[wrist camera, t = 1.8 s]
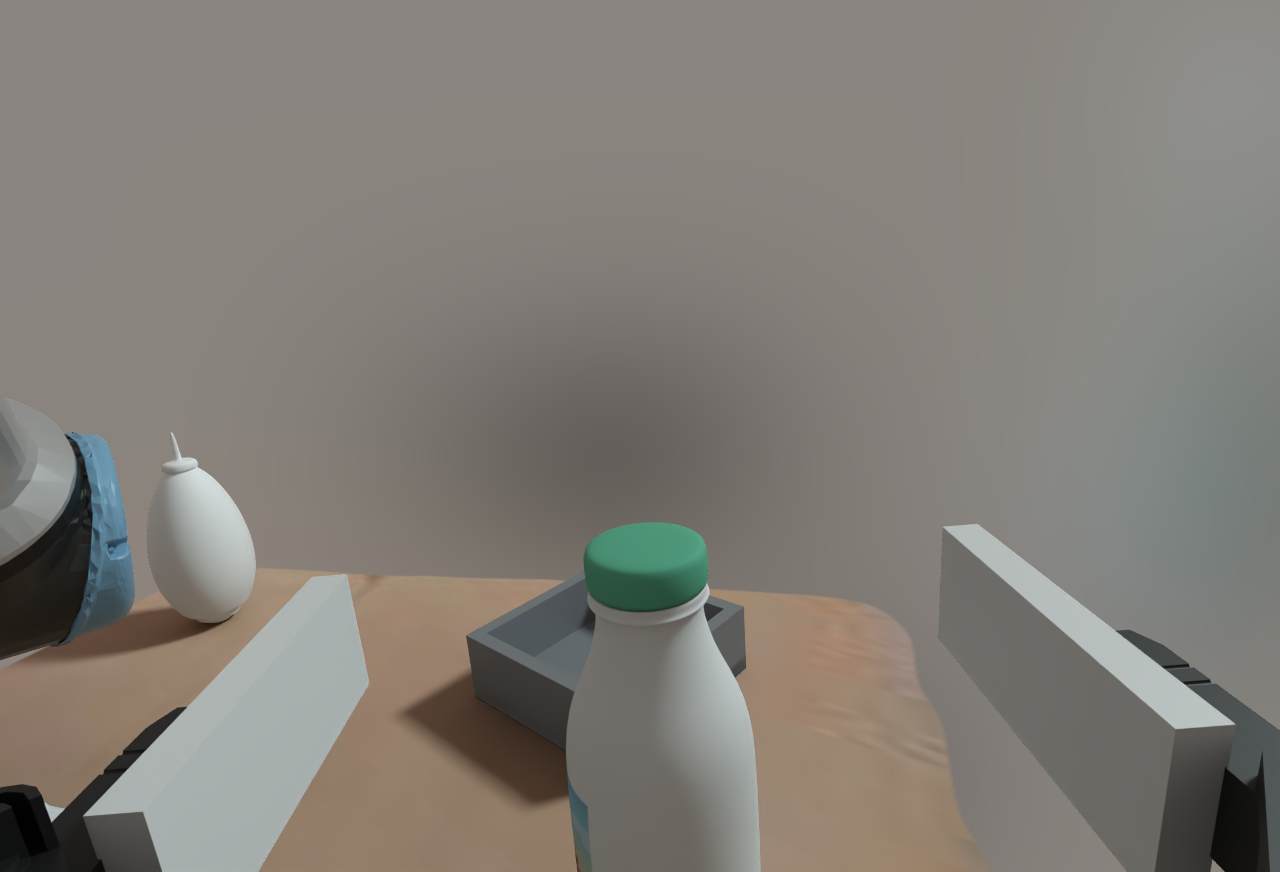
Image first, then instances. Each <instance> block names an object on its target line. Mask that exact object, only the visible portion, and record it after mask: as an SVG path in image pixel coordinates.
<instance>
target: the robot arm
mask: <svg viewBox="0 0 1280 872" xmlns="http://www.w3.org/2000/svg"><path fill="white" fill-rule="evenodd" d="M127 540H128V535H127V528H126V519H125V513H124V508H123V502H122V497H121V493H120V488H119V483H118V478H117V474H116V470H115V466H114V462H113V458H112V454H111V451H110V448H109V446H108V444H107V443H106V441H105V440H104V439H103V438H101V437H99V436H98V435H95V434H81V435H79V434H77V433H73V432H72V433H67V434H63V432H62V431H61V429H60V428H59V427H58V426H57V425H56V424H55V423H54V422H53V421H52V420H51V419H49V418H48V417H47V416H45V415H44V414H42V413H41V412H39V411H37V410H35V409H33V408H31V407H29V406H27V405H25V404H23V403H20V402H18V401H15V400H12V399H9V398H6V397H5V395H4V394H3V391H2V389H1V387H0V660H2V659H6V658H9V657H12V656H16V655H19V654H22V653H26V652H29V651H32V650H36V649H39V648H42V647H46V646H49V645H50V646H61V645H65V644H68V643H70V642H71V641H72V640H73V639H74V638H76V637H78V636H81V635H84V634H87V633H90V632H93V631H95V630H98V629H101V628H104V627H107V626H110V625H112V624H115V623H116V622H118V621H119V620H121V619H122V618H123V617H124V616H126V614H127V613H128V612H129V611H130V609H131V607H132V605H133V602H134V597H135V596H134V595H135V585H134V573H133V565H132V558H131V552H130V548H129V544H128V543H127ZM939 608H940V609H939V631H938V638H939V640H940V641H941V642H942V643H943V645H944V646H945V647H946V648H947V650H948V651H949V652H950V653H951V654H952V656H953V657H954V658H955V659H956V660H957V662H958V663H959V664H960V666H961V667H962V668H963V669H964V671H965V672H966V673H967V674H968V675H969V677H970V678H971V679H972V680H973V682H974V683H975V684H976V685H977V687H978V688H979V689H980V690H981V691H982V693H983V694H984V695H985V697H986V698H987V699H988V700H989V702H990V703H991V704H992V705H993V706H994V708H995V709H996V710H997V711H998V712H999V714H1000V715H1001V716H1002V717H1003V719H1004V720H1005V721H1006V722H1007V723H1008V725H1009V726H1010V727H1011V729H1012V730H1013V731H1014V732H1015V734H1016V735H1017V736H1018V737H1019V739H1020V740H1021V741H1022V742H1023V744H1024V745H1025V746H1026V747H1027V748H1028V750H1029V751H1030V752H1031V753H1032V755H1033V756H1034V757H1035V758H1036V760H1037V761H1038V762H1039V763H1040V765H1041V766H1042V767H1043V768H1044V770H1045V771H1046V772H1047V773H1048V774H1049V776H1050V777H1051V778H1052V779H1053V781H1054V782H1055V783H1056V784H1057V785H1058V787H1059V788H1060V789H1061V790H1062V792H1063V793H1064V794H1065V795H1066V797H1067V798H1068V799H1069V800H1070V802H1071V803H1072V804H1073V805H1074V807H1075V808H1076V809H1077V810H1078V811H1079V813H1080V814H1081V815H1082V817H1083V818H1084V819H1085V820H1086V821H1087V823H1088V824H1089V825H1090V826H1091V828H1092V829H1093V830H1094V831H1095V832H1096V834H1097V835H1098V836H1099V838H1100V839H1101V840H1102V841H1103V842H1104V844H1105V845H1106V846H1107V847H1108V849H1109V850H1110V851H1111V852H1112V854H1113V855H1114V856H1115V857H1116V858H1117V860H1118V861H1119V862H1120V863H1121V865H1122V866H1123V867H1124V868H1125V869H1126V871H1127V872H1210V870H1211V864H1212V859H1213V860H1214V861H1215V862H1216V863H1217V864H1218V865H1219V866H1220V867H1221V868H1222V869H1223V870H1224V871H1225V872H1280V730H1278V729H1277V728H1276V727H1274V726H1273V725H1272V724H1270V723H1269V722H1267V721H1266V720H1265V719H1263V718H1262V717H1261V716H1259V715H1258V714H1257V713H1255V712H1254V711H1252V710H1251V709H1250V708H1248V707H1247V706H1246V705H1244V704H1243V703H1242V702H1240V701H1239V700H1237V699H1236V698H1235V697H1233V696H1232V695H1230V694H1229V693H1228V692H1227V691H1225V690H1224V689H1222V688H1221V687H1220V686H1218V685H1217V684H1212V683H1211V682H1210V679H1209V678H1207V677H1206V676H1204V675H1203V674H1202V673H1201V672H1199V671H1198V670H1197V669H1195V668H1190V667H1189V664H1188V663H1187V662H1186V661H1184V660H1183V659H1181V658H1180V657H1179V656H1177V655H1176V654H1175V653H1173V652H1172V651H1171V650H1169V649H1168V648H1166V647H1165V646H1164V645H1162V644H1159V643H1157V642H1155V641H1153V640H1151V639H1149V638H1146V637H1144V636H1142V635H1140V634H1137V633H1135V632H1133V631H1131V630H1121V631H1115V630H1113V629H1112V628H1111V627H1110V626H1108V625H1107V624H1106V623H1104V622H1103V621H1102V620H1101V619H1099V618H1098V617H1097V616H1095V615H1094V614H1093V613H1091V612H1090V611H1089V610H1087V609H1086V608H1085V607H1084V606H1082V605H1081V604H1080V603H1079V602H1077V601H1076V600H1075V599H1073V598H1072V597H1071V596H1069V595H1068V594H1067V593H1066V592H1064V591H1063V590H1062V589H1060V588H1059V587H1058V586H1057V585H1055V584H1054V583H1053V582H1052V581H1050V580H1049V579H1047V578H1046V577H1045V576H1044V575H1043V574H1041V573H1040V572H1039V571H1037V570H1036V569H1034V568H1033V567H1032V566H1031V565H1030V564H1028V563H1027V562H1026V561H1024V560H1023V559H1022V558H1020V557H1019V556H1018V555H1017V554H1015V553H1014V552H1013V551H1012V550H1010V549H1009V548H1008V547H1006V546H1005V545H1004V544H1002V543H1001V542H1000V541H999V540H997V539H996V538H995V537H994V536H992V535H991V534H990V533H988V532H987V531H986V530H984V529H983V528H982V527H981V526H979V525H978V524H972V525H960V526H947V527H943V533H942V557H941V581H940V606H939ZM368 685H369V680H368V675H367V670H366V665H365V660H364V655H363V650H362V646H361V641H360V636H359V631H358V626H357V621H356V616H355V611H354V607H353V602H352V597H351V592H350V587H349V582H348V577H347V574H343V575H331V576H318V577H312V578H311V579H310V580H309V581H308V582H307V583H306V584H305V585H304V586H303V587H302V588H301V589H300V590H299V591H298V592H297V593H296V594H295V595H294V596H293V597H292V598H291V600H290V601H289V602H288V603H287V604H286V605H285V606H284V607H283V608H282V609H281V610H280V611H279V612H278V613H277V614H276V615H275V616H274V617H273V618H272V619H271V620H270V621H269V622H268V624H267V625H266V626H265V627H264V628H263V629H262V630H261V631H260V632H259V633H258V634H257V635H256V636H255V637H254V638H253V639H252V640H251V641H250V642H249V643H248V644H247V645H246V646H245V648H244V649H243V650H242V651H241V652H240V653H239V654H238V655H237V656H236V657H235V658H234V659H233V660H232V661H231V662H230V663H229V664H228V665H227V666H226V667H225V668H224V669H223V670H222V672H221V673H220V674H219V675H218V676H217V677H216V678H215V679H214V680H213V681H212V682H211V683H210V684H209V685H208V686H207V687H206V688H205V689H204V690H203V691H202V692H201V693H200V694H199V696H198V697H197V698H196V699H195V700H194V701H193V702H192V703H191V704H190V705H189V706H188V707H180V708H176V709H174V710H173V711H171V712H170V713H168V714H167V715H165V716H164V717H162V718H161V719H159V720H158V721H156V722H155V723H153V724H152V725H150V726H149V727H147V728H146V729H145V730H144V731H143V732H142V733H141V734H140V735H139V736H138V737H137V738H136V739H135V740H134V741H133V742H132V743H131V744H130V745H129V746H128V747H127V748H126V749H125V750H124V751H123V755H120V756H117V757H116V758H115V759H114V760H113V761H112V762H111V763H110V764H109V765H108V766H107V767H106V768H105V769H104V774H103V775H98V776H97V777H96V778H95V779H94V780H93V781H92V782H91V783H90V784H89V785H88V786H87V787H86V788H85V789H84V790H83V791H82V792H81V793H80V794H79V795H78V796H77V797H76V798H75V799H74V800H73V801H72V802H71V803H70V804H69V805H68V806H67V807H66V808H65V809H64V810H63V811H62V812H61V813H60V814H59V815H58V816H57V817H56V818H55V819H54V820H53V821H52V822H51V820H50V817H49V814H48V811H47V809H46V806H45V803H44V801H43V798H42V795H41V793H40V792H39V790H38V789H37V787H34V786H29V785H23V784H21V785H14V786H7V787H1V788H0V872H258V871H259V869H260V868H261V866H262V864H263V863H264V861H265V859H266V857H267V856H268V854H269V852H270V851H271V849H272V847H273V846H274V844H275V842H276V841H277V839H278V837H279V835H280V834H281V832H282V830H283V829H284V827H285V825H286V824H287V822H288V820H289V818H290V817H291V815H292V813H293V812H294V810H295V808H296V807H297V805H298V803H299V802H300V800H301V798H302V796H303V795H304V793H305V791H306V790H307V788H308V786H309V785H310V783H311V781H312V780H313V778H314V776H315V774H316V773H317V771H318V769H319V768H320V766H321V764H322V763H323V761H324V759H325V758H326V756H327V754H328V752H329V751H330V749H331V747H332V746H333V744H334V742H335V741H336V739H337V737H338V736H339V734H340V732H341V730H342V729H343V727H344V725H345V724H346V722H347V720H348V719H349V717H350V715H351V713H352V712H353V710H354V708H355V707H356V705H357V703H358V702H359V700H360V698H361V697H362V695H363V693H364V691H365V690H366V688H367V686H368Z"/></svg>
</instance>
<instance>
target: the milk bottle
mask: <svg viewBox="0 0 1280 872" xmlns="http://www.w3.org/2000/svg"><path fill="white" fill-rule="evenodd" d="M584 574H585V581H586V586H587V589H588V591H589V593H588V597H587V602H588V605H589V607H590V609H591V610H592V611H593V612H594V613H595V615H596V621H595V629H594V635H593V640H592V644H591V648H590V652H589V655H588V658H587V661H586V664H585V666H584V669H583V671H582V674H581V676H580V679H579V681H578V684H577V687H576V690H575V692H574V695H573V699H572V703H571V707H570V711H569V718H568V725H567V736H566V762H567V776H568V790H569V800H570V809H571V818H572V828H573V837H574V846H575V855H576V863H577V872H761V870H760V841H759V818H758V795H757V776H756V764H755V751H754V740H753V733H752V728H751V722H750V717H749V713H748V710H747V707H746V703H745V700H744V697H743V695H742V692H741V690H740V688H739V685H738V683H737V681H736V679H735V677H734V675H733V674H732V672H731V670H730V668H729V667H728V665H727V663H726V661H725V660H724V658H723V656H722V655H721V653H720V651H719V649H718V647H717V645H716V643H715V641H714V639H713V637H712V634H711V632H710V629H709V626H708V623H707V620H706V617H705V613H704V607H703V605H704V604H705V603H706V601H707V599H708V597H709V587H708V585H707V579H708V557H707V549H706V546H705V543H704V540H703V539H702V537H701V536H700V535H699V534H697V533H696V532H694V531H692V530H690V529H688V528H686V527H683V526H679V525H675V524H668V523H654V522H652V523H637V524H630V525H625V526H621V527H617V528H614V529H611V530H608V531H606V532H604V533H602V534H600V535H599V536H597V537H596V538H594V539H593V540H592V541H591V542H590V543H589V544H588V545H587V547H586V549H585V554H584Z"/></svg>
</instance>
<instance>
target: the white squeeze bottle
mask: <svg viewBox="0 0 1280 872" xmlns="http://www.w3.org/2000/svg"><path fill="white" fill-rule="evenodd" d="M170 439H171V445H172V450H173V454H174V460H172V461H168V462H166V463H165V464H163V465H162V472H164V473H165V474H164V475H163V476H162V477H161V479H160V480H159V482H158V484H157V486H156V489H155V491H154V494H153V497H152V500H151V505H150V508H149V514H148V521H147V552H148V559H149V564H150V568H151V571H152V574H153V577H154V580H155V582H156V584H157V586H158V588H159V590H160V592H161V593H162V595H163V596H164V598H165V599H166V600H167V601H168V602H169V604H170V605H171V606H172V607H173V608H174V609H175V610H176V611H178V612H179V613H180V614H181V615H183V616H184V617H186V618H190V619H196V620H197V621H199V622H202V623H219V622H222V621H224V620H226V619H228V618H229V617H230V616H231V615H233V614H234V613H236V612H237V611H238V610H239V609H240V605H241V604H243V603H244V602H245V601H246V600H247V599H248V597H249V595H250V592H251V589H252V586H253V582H254V578H255V569H256V561H255V552H254V546H253V543H252V539H251V536H250V533H249V530H248V528H247V525H246V523H245V521H244V519H243V517H242V515H241V513H240V511H239V510H238V508H237V506H236V505H235V503H234V502H233V501H232V499H231V497H230V496H229V495H228V494H227V492H226V491H225V490H224V489H223V488H222V486H221V485H220V484H219V483H218V482H217V481H216V480H215V479H214V478H213V477H211V476H210V475H209V474H207V473H206V472H205V471H203V470H202V469H200V468H198V467H197V466H198V463H197V461H196V460H195V459H194V458H181V455H180V452H179V449H178V446H177V442H176V439H175V437H174V435H173V433H172V432H170Z"/></svg>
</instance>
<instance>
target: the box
mask: <svg viewBox="0 0 1280 872" xmlns="http://www.w3.org/2000/svg"><path fill="white" fill-rule="evenodd" d="M588 593H589V591H588V589H587V586H586V581H585V574H584V571H583V572H581V573H580V574H578V575H576V576H574V577H572V578H570V579H569V580H567V581H565V582H563V583H561V584H559V585H558V586H556V587H554V588H552V589H550V590H548V591H547V592H545V593H543V594H541V595H539V596H537V597H536V598H534V599H532V600H530V601H528V602H526V603H525V604H523V605H521V606H519V607H517V608H515V609H514V610H512V611H510V612H508V613H506V614H505V615H503V616H501V617H499V618H497V619H495V620H494V621H492V622H490V623H488V624H486V625H484V626H483V627H481V628H479V629H477V630H475V631H473V632H472V633H470V634H468V635H466V638H467V644H468V650H469V657H470V663H471V669H472V676H473V682H474V688H475V695H476V697H477V698H479V699H481V700H482V701H484V702H486V703H487V704H489V705H490V706H492V707H494V708H495V709H497V710H499V711H500V712H502V713H504V714H505V715H507V716H509V717H510V718H512V719H514V720H515V721H517V722H519V723H520V724H522V725H524V726H525V727H527V728H528V729H530V730H532V731H533V732H535V733H537V734H538V735H540V736H542V737H543V738H545V739H547V740H548V741H550V742H552V743H553V744H555V745H557V746H558V747H560V748H561V749H563V750H565V751H566V736H567V725H568V718H569V711H570V707H571V703H572V699H573V695H574V692H575V690H576V687H577V684H578V681H579V679H580V676H581V674H582V671H583V669H584V666H585V664H586V661H587V658H588V655H589V652H590V648H591V644H592V640H593V635H594V629H595V621H596V615H595V613H594V612H593V611H592V610H591V609H590V607H589V605H588V602H587V597H588ZM703 607H704V613H705V617H706V620H707V623H708V626H709V629H710V632H711V634H712V637H713V639H714V641H715V643H716V645H717V647H718V649H719V651H720V653H721V655H722V656H723V658H724V660H725V661H726V663H727V665H728V667H729V668H730V670H731V672H732V674H733V675H734V677H736V676H737V675H738V674H739V673H740V672H741V671H743V670H744V669H745V668H746V656H745V628H744V607H743V606H740V605H737V604H734V603H731V602H728V601H725V600H722V599H719V598H715V597H712V596H709V597H708V599H707V601H706V603H705V604H704V605H703Z"/></svg>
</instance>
